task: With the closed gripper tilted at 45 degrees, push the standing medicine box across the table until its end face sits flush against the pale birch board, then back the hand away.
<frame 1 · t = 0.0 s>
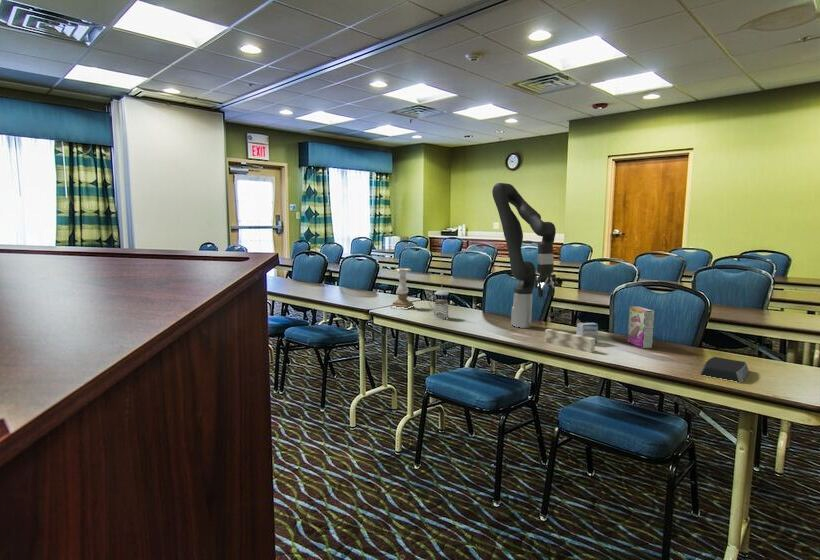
hand: (545, 296, 230), 17 cm above the table, tool pointing down, fingers open, 8 cm apart
birch board: (568, 346, 203), on the table
french press: (439, 318, 261), on the table
external hard drive: (724, 375, 170), on the table
medicine box: (586, 342, 211), on the table
candy bar box: (639, 345, 207), on the table
candle holder: (402, 307, 292), on the table
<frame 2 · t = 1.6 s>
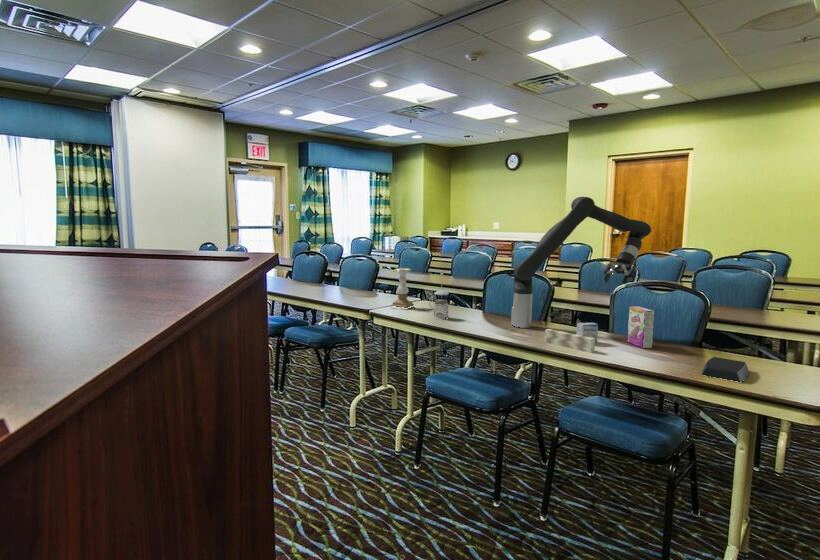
hand: (614, 282, 222), 26 cm above the table, tool tilted 45°, fingers open, 8 cm apart
nothing on the table moved.
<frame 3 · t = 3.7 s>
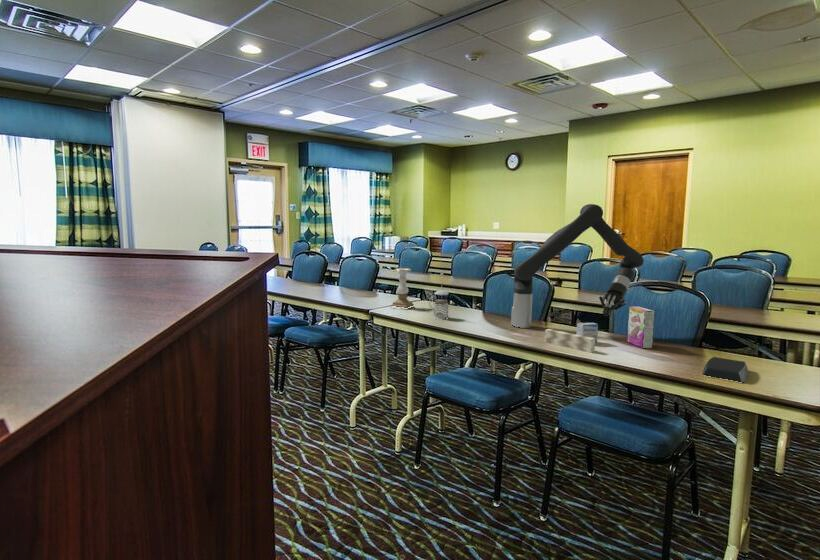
hand: (605, 314, 220), 11 cm above the table, tool tilted 45°, fingers closed
nothing on the table moved.
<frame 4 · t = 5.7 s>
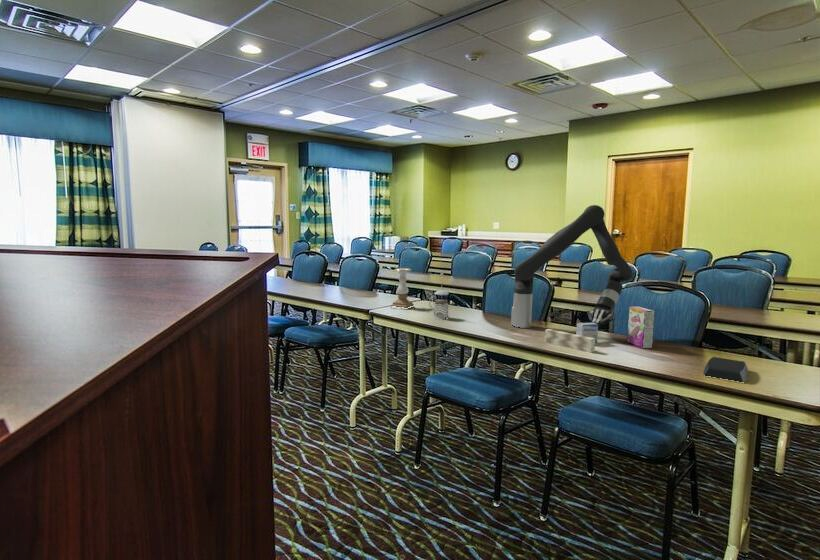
hand: (592, 330, 214), 5 cm above the table, tool tilted 45°, fingers closed
medicine box: (586, 342, 211), on the table, touching gripper
everything else where it was.
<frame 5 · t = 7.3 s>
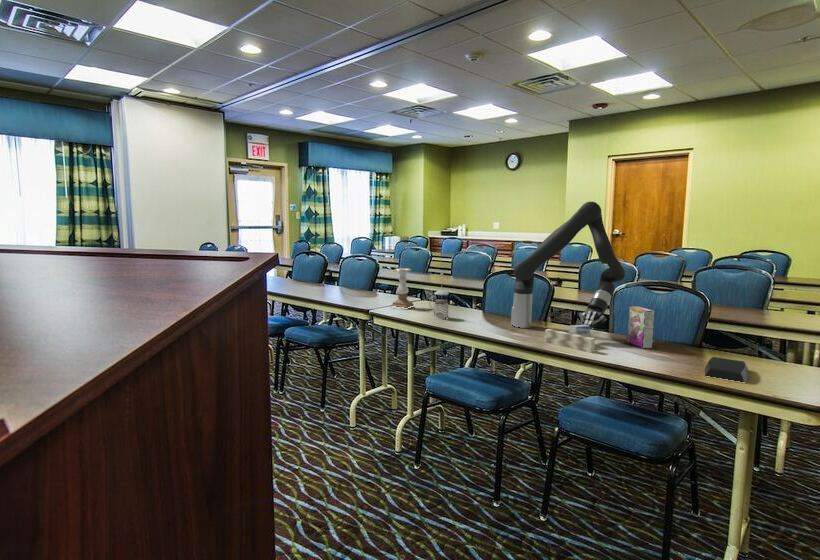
hand: (584, 332, 209), 5 cm above the table, tool tilted 45°, fingers closed
medicine box: (578, 345, 206), on the table, touching birch board, gripper
everything else where it was.
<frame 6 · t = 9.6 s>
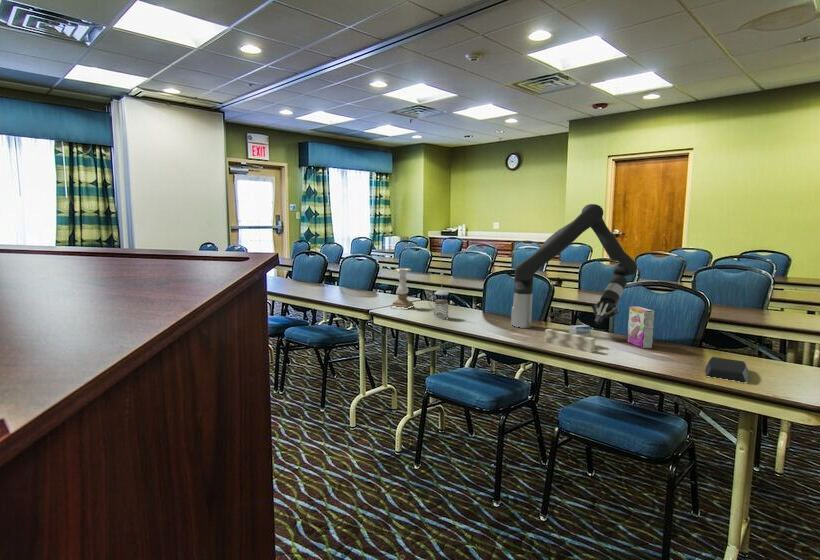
hand: (597, 323, 216), 7 cm above the table, tool tilted 45°, fingers closed
medicine box: (578, 345, 206), on the table
everything else where it was.
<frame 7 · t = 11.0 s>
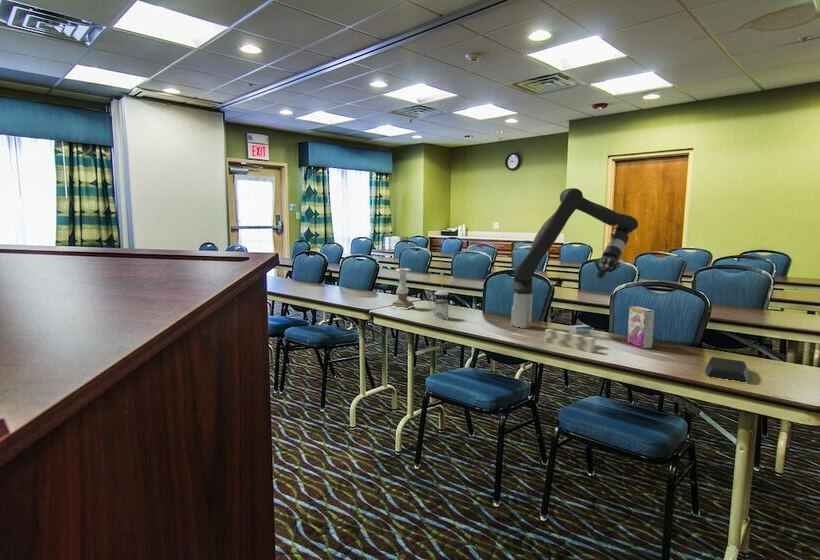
hand: (599, 277, 221), 28 cm above the table, tool tilted 45°, fingers closed
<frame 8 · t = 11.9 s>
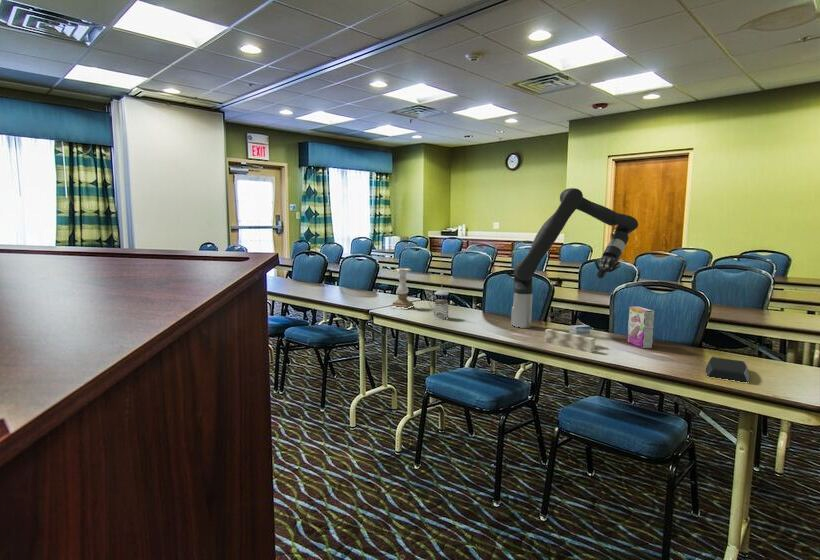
hand: (599, 277, 221), 28 cm above the table, tool tilted 45°, fingers closed
nothing on the table moved.
at the end: medicine box inside the target area on the table beside the birch board (1.5 cm from its centre), on the table; medicine box tilted 0° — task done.
